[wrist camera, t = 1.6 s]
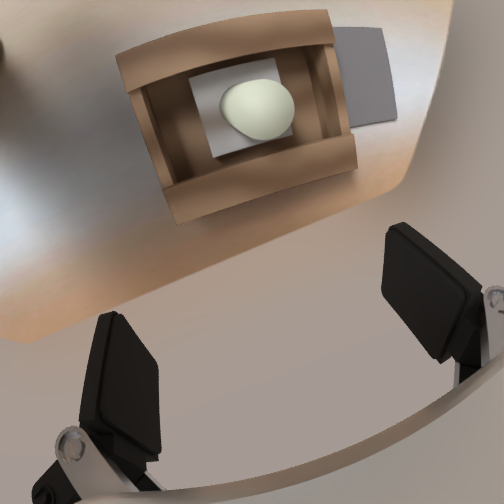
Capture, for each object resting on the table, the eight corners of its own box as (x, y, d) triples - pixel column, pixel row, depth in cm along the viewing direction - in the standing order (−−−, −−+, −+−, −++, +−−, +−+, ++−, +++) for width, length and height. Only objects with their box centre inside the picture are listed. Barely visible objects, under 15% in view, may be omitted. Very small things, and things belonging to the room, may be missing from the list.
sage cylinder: (213, 90, 22) (224, 87, 16) (260, 78, 22) (287, 73, 16) (226, 134, 24) (241, 147, 19) (271, 121, 25) (299, 131, 19)
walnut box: (128, 63, 20) (115, 55, 16) (302, 21, 21) (326, 9, 17) (177, 203, 29) (176, 225, 25) (331, 155, 30) (357, 168, 26)
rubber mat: (321, 28, 22) (323, 27, 22) (378, 28, 23) (381, 28, 22) (343, 127, 29) (345, 128, 28) (394, 118, 29) (397, 118, 29)
